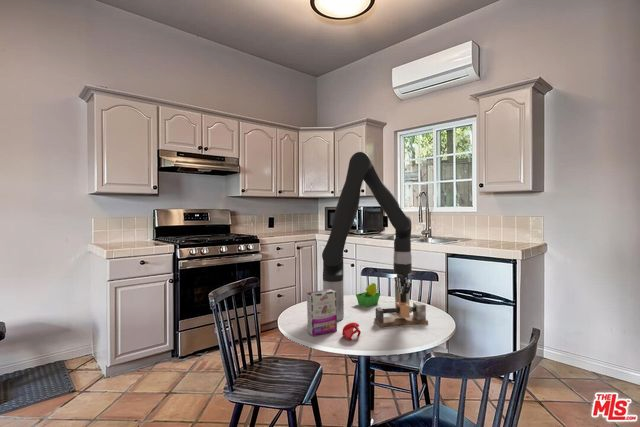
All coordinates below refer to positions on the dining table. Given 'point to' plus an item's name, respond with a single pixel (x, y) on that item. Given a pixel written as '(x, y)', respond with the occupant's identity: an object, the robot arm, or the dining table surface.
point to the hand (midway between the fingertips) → (402, 301)
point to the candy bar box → (321, 312)
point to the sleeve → (403, 308)
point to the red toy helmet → (350, 330)
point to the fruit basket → (368, 296)
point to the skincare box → (398, 296)
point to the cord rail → (395, 321)
